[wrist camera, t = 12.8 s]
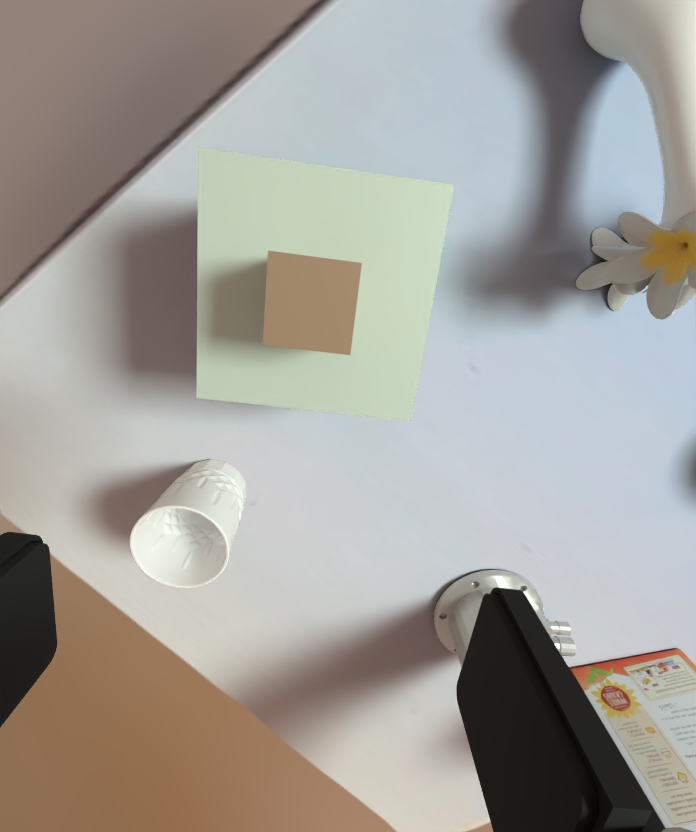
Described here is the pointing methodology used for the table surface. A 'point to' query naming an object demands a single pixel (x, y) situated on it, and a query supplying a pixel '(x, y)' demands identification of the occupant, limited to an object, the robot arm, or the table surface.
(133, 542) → the white cup
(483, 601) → the robot arm
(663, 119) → the flower vase
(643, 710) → the cracker box
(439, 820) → the table surface
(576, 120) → the table surface
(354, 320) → the pale green block
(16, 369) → the table surface
